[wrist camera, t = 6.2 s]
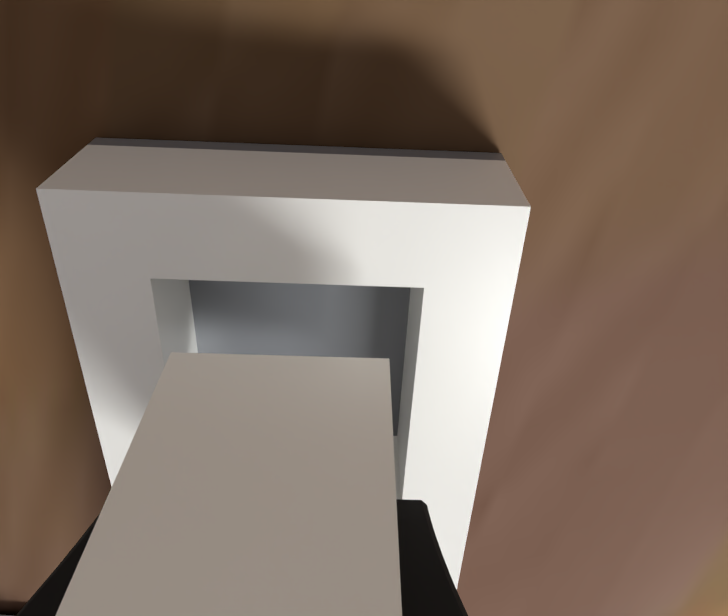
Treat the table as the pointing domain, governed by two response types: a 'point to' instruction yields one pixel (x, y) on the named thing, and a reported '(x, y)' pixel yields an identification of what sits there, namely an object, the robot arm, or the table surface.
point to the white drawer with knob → (251, 495)
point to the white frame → (297, 282)
